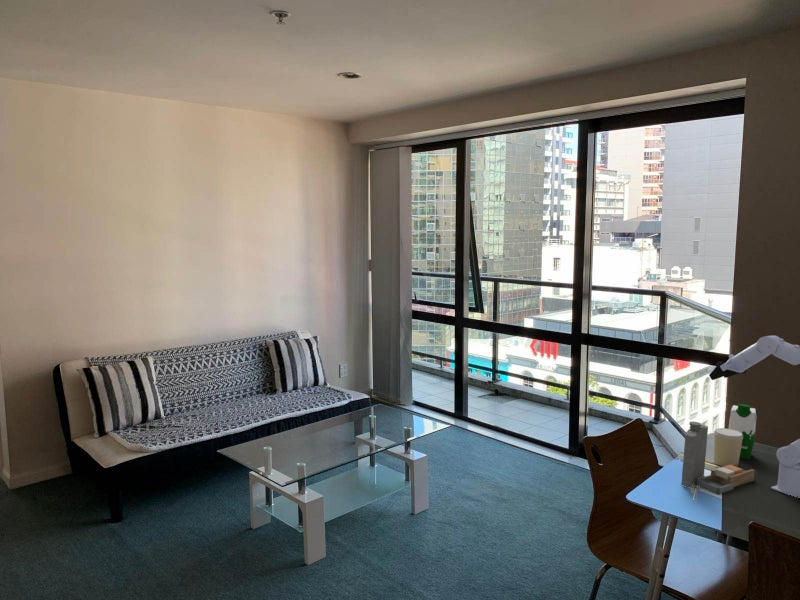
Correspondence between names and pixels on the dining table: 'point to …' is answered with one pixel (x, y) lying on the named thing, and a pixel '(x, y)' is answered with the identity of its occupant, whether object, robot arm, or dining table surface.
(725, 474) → the tile
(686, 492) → the dining table surface
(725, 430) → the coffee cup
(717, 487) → the tray
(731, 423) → the milk carton
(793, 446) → the robot arm
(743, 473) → the board
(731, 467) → the tile
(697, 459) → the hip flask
